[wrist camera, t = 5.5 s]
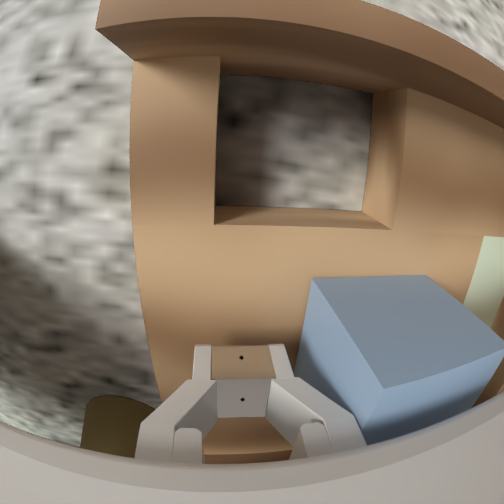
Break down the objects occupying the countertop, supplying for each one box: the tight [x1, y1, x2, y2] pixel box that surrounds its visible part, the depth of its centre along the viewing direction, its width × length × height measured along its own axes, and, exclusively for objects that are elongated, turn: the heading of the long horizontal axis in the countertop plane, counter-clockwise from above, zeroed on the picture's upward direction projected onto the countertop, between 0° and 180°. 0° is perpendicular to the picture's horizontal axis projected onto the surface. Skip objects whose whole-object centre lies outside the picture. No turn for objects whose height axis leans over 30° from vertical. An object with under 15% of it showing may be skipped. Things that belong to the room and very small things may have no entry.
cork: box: [80, 396, 155, 458], centre depth 10 cm, size 6×6×11 cm
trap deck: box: [95, 0, 504, 464], centre depth 11 cm, size 20×19×6 cm
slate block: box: [294, 275, 504, 446], centre depth 9 cm, size 5×5×5 cm
